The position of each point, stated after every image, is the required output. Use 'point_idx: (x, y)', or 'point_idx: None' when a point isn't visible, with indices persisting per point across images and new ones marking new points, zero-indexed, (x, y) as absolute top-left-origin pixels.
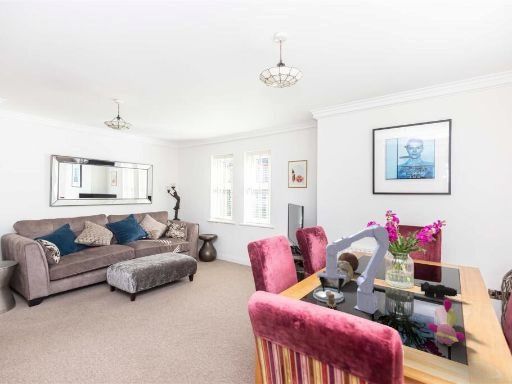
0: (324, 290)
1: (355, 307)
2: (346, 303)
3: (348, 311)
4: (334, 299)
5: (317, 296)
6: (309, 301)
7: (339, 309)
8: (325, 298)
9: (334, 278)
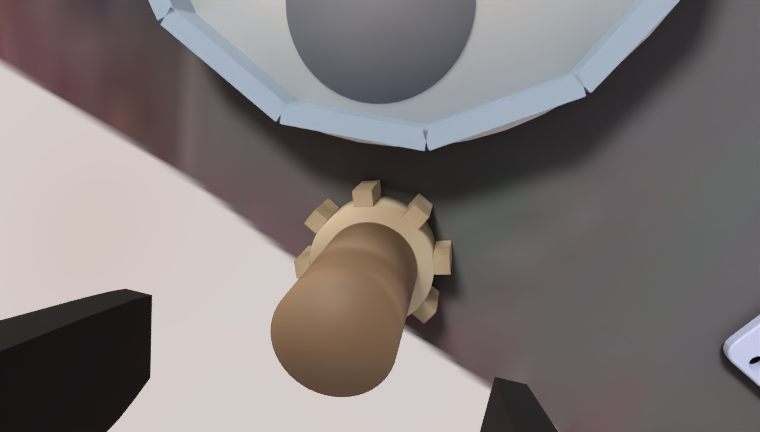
0: (120, 415)
1: (754, 352)
2: (678, 144)
3: (581, 417)
4: (458, 140)
5: (161, 12)
6: (78, 97)
7: (470, 356)
8: (290, 123)
9: None
